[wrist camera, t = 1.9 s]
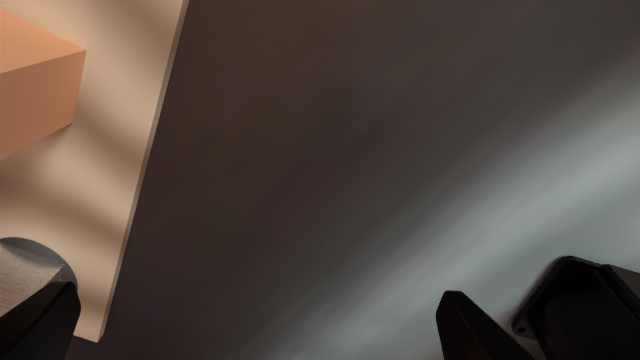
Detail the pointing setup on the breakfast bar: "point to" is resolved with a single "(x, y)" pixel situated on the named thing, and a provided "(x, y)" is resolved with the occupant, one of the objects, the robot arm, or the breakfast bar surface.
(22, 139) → the marker post
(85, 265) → the template board
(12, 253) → the fixed post
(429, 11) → the breakfast bar surface
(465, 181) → the breakfast bar surface
